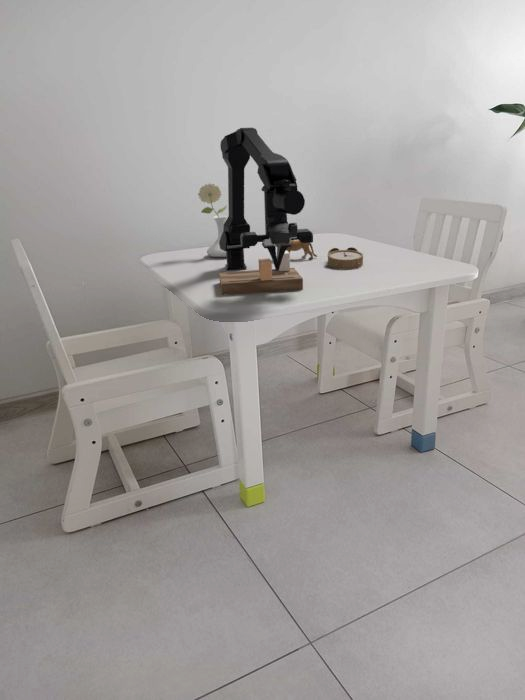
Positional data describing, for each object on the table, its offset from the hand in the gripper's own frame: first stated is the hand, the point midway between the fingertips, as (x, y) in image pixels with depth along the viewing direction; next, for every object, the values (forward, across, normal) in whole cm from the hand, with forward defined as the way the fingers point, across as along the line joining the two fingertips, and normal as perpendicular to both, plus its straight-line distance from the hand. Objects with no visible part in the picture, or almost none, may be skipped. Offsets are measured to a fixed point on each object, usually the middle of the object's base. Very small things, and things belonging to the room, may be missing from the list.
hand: (277, 269), depth 137 cm
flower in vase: (+6, -13, +48) cm, 50 cm away
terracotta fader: (+2, -3, 0) cm, 4 cm away
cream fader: (+2, +3, +9) cm, 10 cm away
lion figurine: (+6, +12, +36) cm, 38 cm away
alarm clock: (+6, +26, +25) cm, 36 cm away
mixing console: (+5, -4, +4) cm, 8 cm away
